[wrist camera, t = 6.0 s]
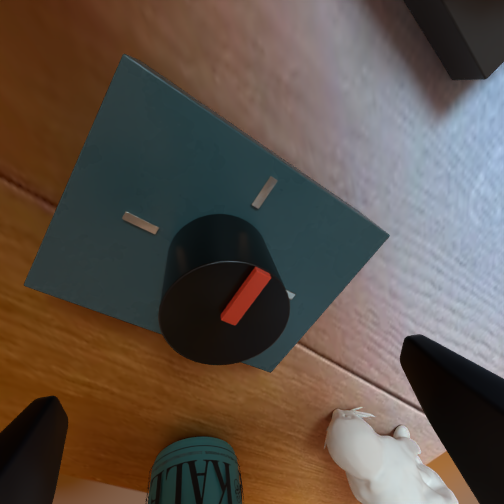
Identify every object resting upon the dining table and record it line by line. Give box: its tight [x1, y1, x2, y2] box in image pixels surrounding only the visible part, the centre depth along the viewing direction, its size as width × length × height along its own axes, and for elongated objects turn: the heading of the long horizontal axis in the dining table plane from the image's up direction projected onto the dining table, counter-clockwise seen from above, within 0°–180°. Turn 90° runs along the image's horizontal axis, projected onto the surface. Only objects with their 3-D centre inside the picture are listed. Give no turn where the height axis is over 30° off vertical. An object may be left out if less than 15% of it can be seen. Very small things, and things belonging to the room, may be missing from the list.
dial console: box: [24, 54, 389, 373], centre depth 15 cm, size 13×10×3 cm
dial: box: [158, 214, 290, 365], centre depth 12 cm, size 4×4×4 cm
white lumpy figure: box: [324, 407, 459, 504], centre depth 24 cm, size 6×8×12 cm
